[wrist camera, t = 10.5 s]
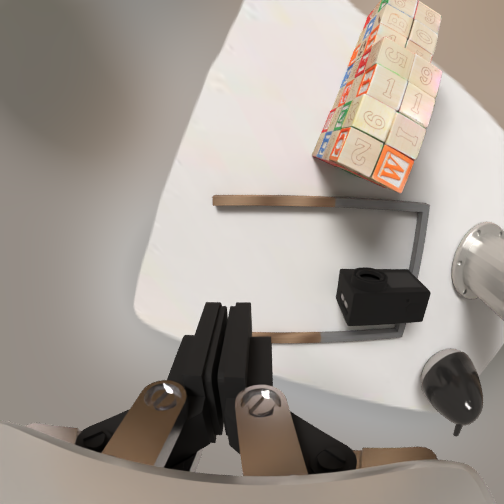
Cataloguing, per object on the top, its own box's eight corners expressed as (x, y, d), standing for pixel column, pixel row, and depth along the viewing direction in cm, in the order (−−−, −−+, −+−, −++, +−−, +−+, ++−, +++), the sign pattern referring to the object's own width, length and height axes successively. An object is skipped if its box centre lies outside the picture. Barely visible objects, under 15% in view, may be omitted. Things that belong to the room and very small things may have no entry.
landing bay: (425, 203, 33) (429, 205, 32) (399, 332, 40) (401, 337, 39) (333, 196, 33) (335, 198, 32) (319, 337, 40) (320, 342, 39)
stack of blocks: (366, 15, 25) (404, -28, 13) (408, 38, 25) (458, 8, 14) (310, 156, 32) (336, 162, 21) (357, 178, 33) (402, 195, 21)
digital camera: (410, 261, 36) (434, 283, 29) (402, 296, 38) (423, 322, 31) (340, 259, 36) (355, 284, 30) (335, 297, 38) (347, 326, 32)
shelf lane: (333, 196, 33) (335, 198, 32) (319, 337, 40) (320, 342, 39) (214, 195, 34) (212, 196, 33) (221, 336, 41) (220, 341, 40)
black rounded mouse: (406, 386, 44) (434, 448, 30) (425, 342, 40) (466, 404, 26) (447, 379, 44) (478, 433, 30) (467, 337, 40) (509, 390, 26)
